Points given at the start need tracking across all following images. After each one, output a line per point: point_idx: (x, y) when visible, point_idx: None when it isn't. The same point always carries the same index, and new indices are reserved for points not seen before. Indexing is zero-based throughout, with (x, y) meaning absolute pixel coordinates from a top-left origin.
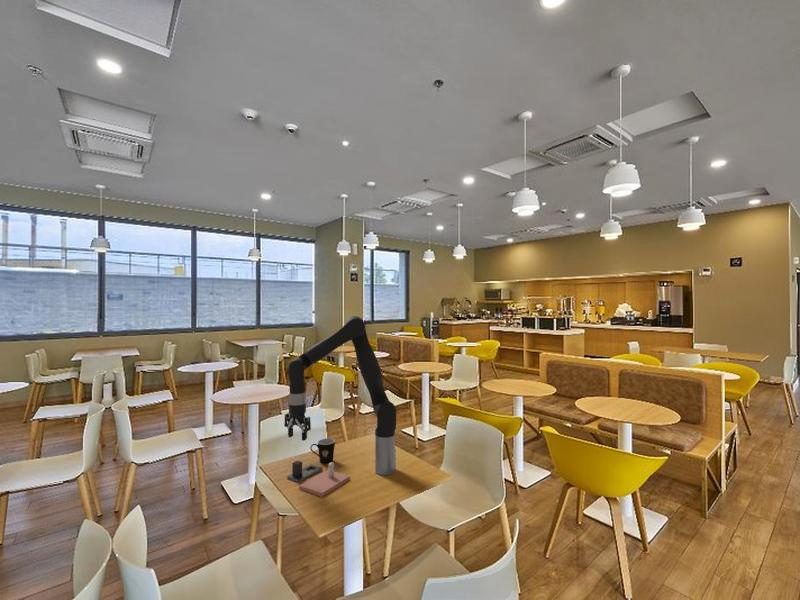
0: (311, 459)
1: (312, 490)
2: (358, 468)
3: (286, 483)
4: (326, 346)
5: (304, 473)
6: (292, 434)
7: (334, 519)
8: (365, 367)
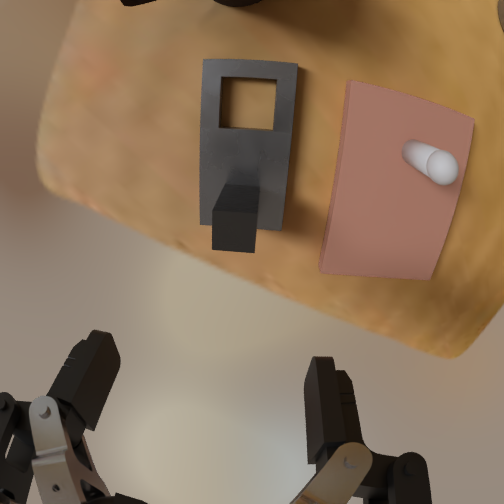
0: None
1: (390, 276)
2: (441, 6)
3: None
4: None
5: (256, 164)
6: (102, 349)
7: (474, 327)
8: None
